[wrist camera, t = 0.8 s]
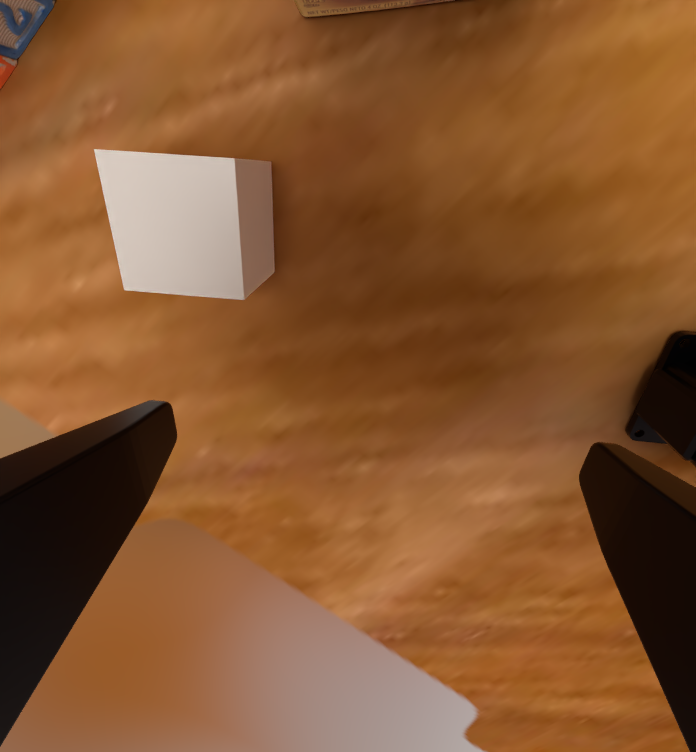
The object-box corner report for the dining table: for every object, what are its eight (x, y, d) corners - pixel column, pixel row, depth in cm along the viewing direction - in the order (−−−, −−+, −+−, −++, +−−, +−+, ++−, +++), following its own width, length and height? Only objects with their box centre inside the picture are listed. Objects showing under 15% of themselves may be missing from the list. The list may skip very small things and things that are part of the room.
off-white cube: (271, 161, 18) (234, 158, 13) (275, 271, 20) (244, 299, 16) (165, 154, 18) (93, 149, 14) (180, 264, 20) (124, 290, 16)
